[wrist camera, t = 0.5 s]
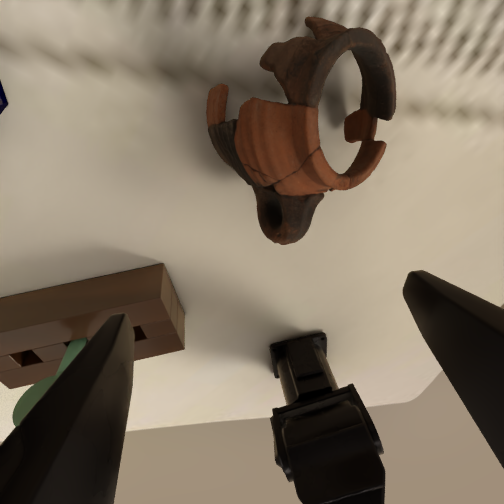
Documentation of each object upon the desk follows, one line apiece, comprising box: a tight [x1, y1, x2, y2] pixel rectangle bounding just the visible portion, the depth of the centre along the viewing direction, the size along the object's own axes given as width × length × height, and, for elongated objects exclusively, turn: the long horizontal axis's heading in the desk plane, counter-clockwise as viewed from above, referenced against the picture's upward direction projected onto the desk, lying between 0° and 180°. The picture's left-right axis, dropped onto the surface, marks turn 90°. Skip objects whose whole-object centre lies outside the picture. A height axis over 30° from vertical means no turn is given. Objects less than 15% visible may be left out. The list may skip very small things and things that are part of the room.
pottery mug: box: [206, 17, 396, 245], centre depth 19 cm, size 12×10×8 cm
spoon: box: [13, 337, 87, 426], centre depth 23 cm, size 1×4×10 cm, turn 98°
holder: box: [0, 264, 185, 389], centre depth 26 cm, size 6×15×4 cm, turn 98°
